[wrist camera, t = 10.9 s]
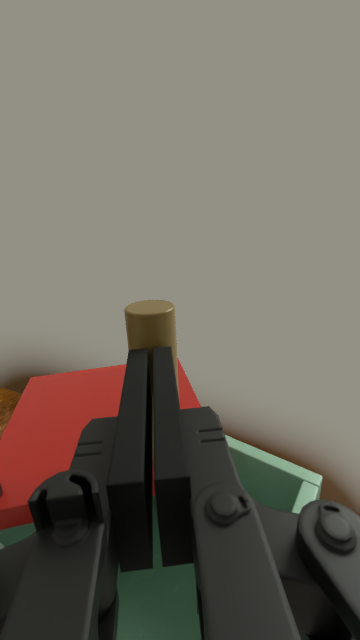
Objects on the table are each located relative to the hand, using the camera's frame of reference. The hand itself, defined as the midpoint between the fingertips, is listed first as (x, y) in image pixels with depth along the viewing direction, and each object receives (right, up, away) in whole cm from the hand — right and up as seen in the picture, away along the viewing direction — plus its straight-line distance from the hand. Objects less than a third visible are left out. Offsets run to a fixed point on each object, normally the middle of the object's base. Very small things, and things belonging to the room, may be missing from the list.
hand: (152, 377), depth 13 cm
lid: (-4, -5, +7) cm, 9 cm away
